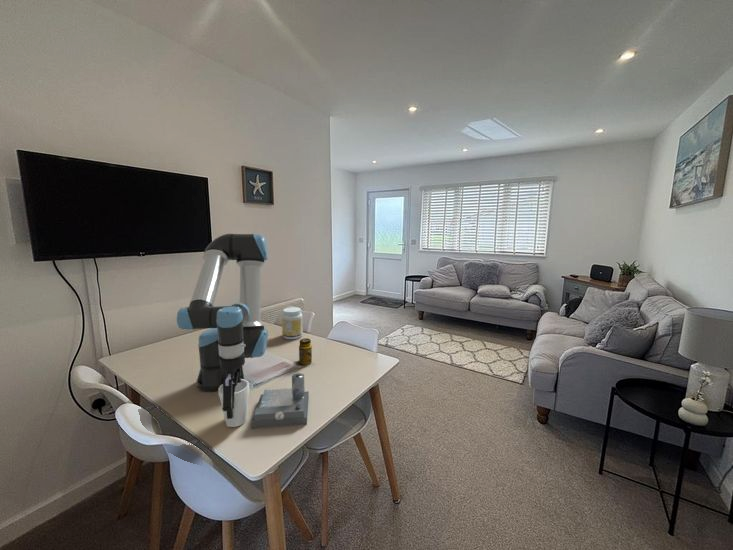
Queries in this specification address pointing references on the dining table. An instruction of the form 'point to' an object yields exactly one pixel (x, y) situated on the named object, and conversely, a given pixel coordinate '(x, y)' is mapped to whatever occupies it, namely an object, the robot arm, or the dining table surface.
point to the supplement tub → (292, 323)
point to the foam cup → (238, 401)
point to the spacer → (298, 386)
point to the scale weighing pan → (279, 398)
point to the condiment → (304, 353)
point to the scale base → (281, 415)
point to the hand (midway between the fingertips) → (235, 415)
